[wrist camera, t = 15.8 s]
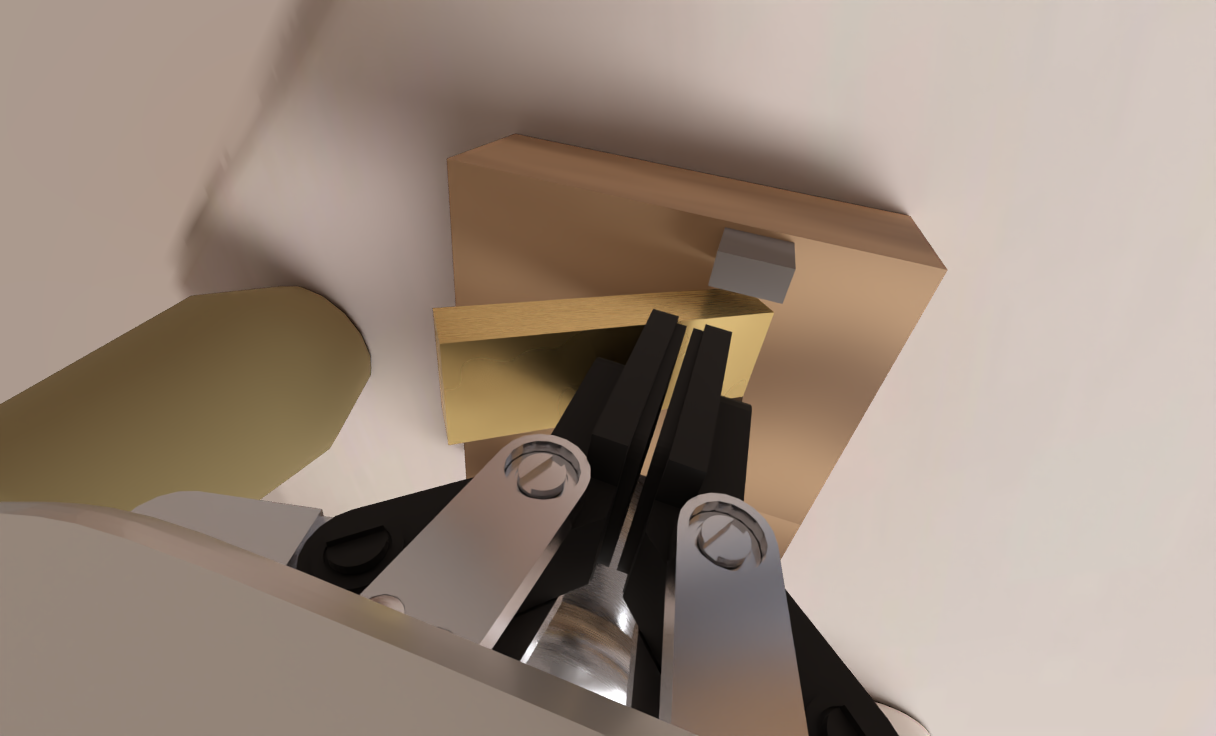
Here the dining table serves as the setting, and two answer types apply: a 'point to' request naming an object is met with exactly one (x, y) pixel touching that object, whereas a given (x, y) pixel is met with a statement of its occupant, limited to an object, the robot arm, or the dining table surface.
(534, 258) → the block
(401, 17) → the dining table surface
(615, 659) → the steel pin
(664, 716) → the robot arm
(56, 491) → the squeeze bottle
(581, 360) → the bar
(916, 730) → the pill bottle
